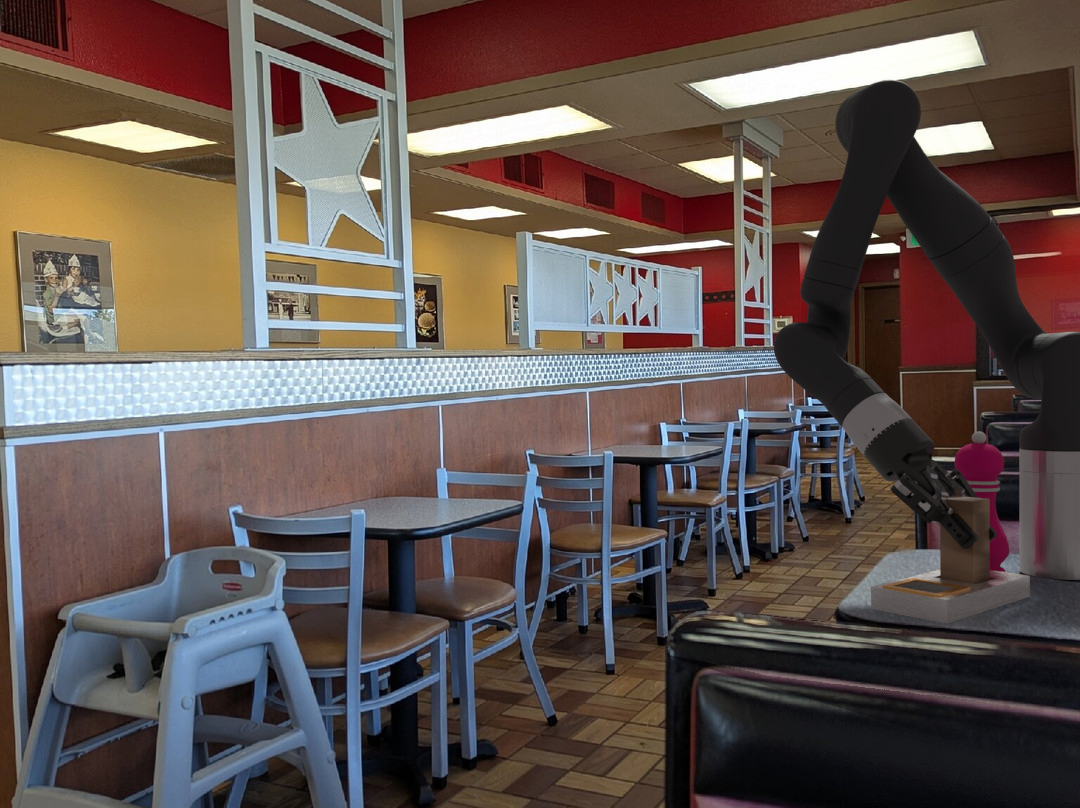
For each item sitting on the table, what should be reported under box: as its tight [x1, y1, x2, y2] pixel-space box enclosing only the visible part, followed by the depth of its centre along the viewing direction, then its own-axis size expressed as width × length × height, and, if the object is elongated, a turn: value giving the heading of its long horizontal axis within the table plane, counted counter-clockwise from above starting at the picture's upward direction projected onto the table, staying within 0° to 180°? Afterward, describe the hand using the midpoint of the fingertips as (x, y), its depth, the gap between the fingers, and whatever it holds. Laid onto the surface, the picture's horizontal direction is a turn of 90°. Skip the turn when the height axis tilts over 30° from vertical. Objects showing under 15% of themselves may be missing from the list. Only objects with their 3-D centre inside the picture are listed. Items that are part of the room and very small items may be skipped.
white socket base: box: [870, 569, 1031, 624], centre depth 109 cm, size 20×9×3 cm, turn 129°
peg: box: [939, 496, 990, 584], centre depth 111 cm, size 4×4×12 cm
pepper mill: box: [954, 430, 1010, 572], centre depth 123 cm, size 7×7×20 cm
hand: (981, 541), depth 109 cm, fingers closed on peg, 4 cm apart
